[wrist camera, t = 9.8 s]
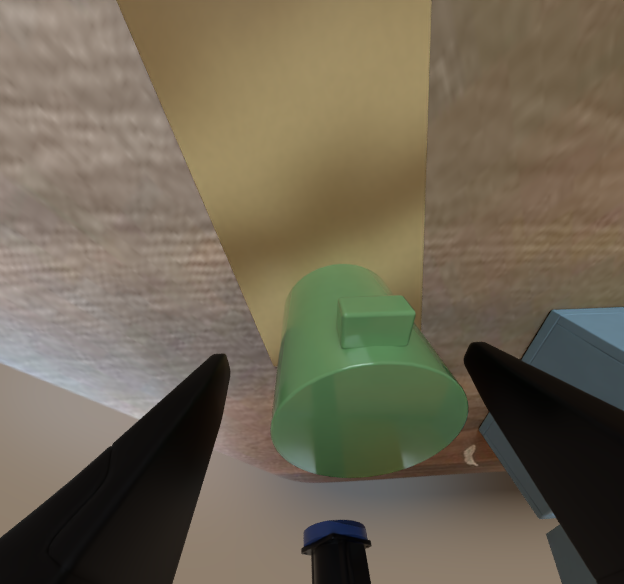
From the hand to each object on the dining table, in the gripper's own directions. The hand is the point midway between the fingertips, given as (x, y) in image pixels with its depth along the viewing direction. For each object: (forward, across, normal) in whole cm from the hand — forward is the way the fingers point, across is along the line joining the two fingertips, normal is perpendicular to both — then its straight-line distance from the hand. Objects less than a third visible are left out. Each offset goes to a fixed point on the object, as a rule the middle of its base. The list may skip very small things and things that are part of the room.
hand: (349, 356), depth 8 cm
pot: (+3, 0, 0) cm, 3 cm away
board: (+3, +3, -17) cm, 18 cm away
